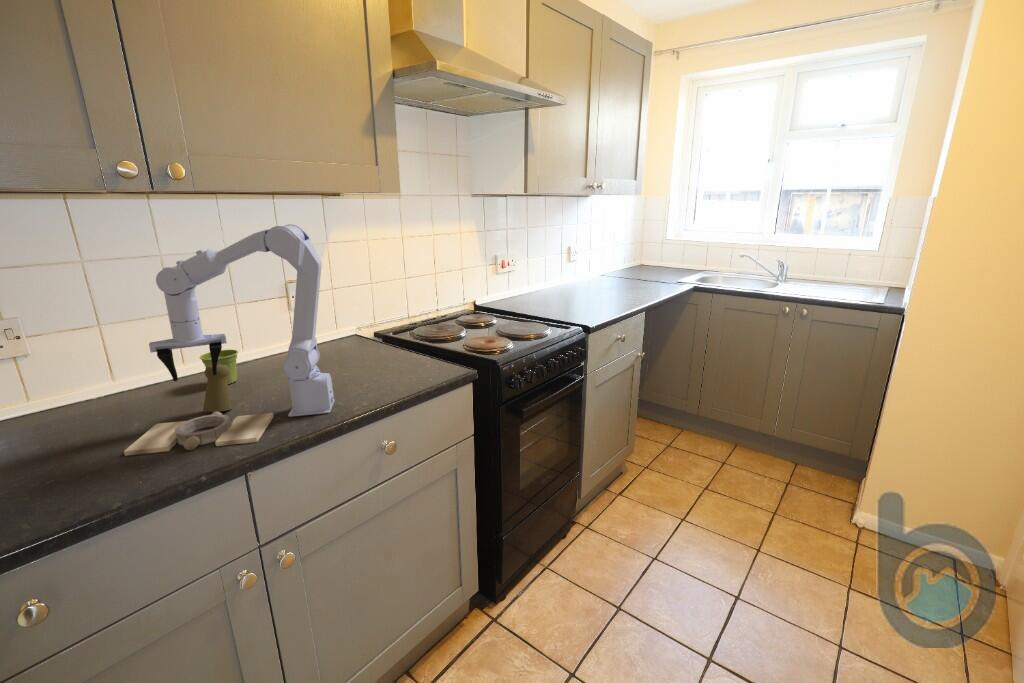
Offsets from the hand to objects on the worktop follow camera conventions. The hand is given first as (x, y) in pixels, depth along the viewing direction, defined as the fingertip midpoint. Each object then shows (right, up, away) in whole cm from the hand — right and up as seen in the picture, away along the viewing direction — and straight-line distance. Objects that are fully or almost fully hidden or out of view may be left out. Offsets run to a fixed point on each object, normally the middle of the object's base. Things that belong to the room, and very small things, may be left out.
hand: (195, 376), depth 111 cm
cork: (+1, -9, +6) cm, 11 cm away
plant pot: (-9, -4, +26) cm, 28 cm away
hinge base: (+6, -12, -6) cm, 15 cm away
